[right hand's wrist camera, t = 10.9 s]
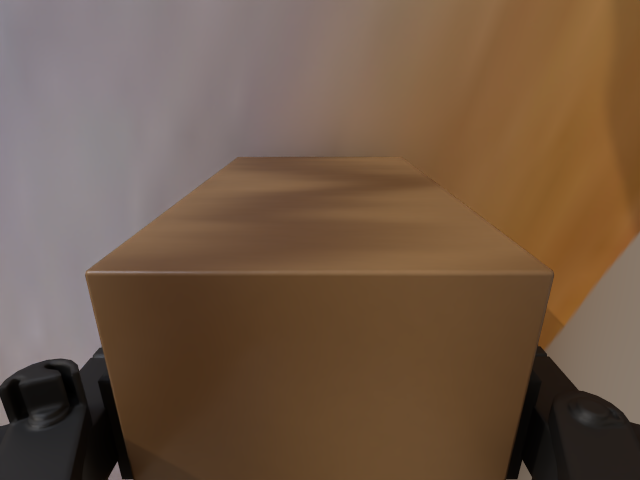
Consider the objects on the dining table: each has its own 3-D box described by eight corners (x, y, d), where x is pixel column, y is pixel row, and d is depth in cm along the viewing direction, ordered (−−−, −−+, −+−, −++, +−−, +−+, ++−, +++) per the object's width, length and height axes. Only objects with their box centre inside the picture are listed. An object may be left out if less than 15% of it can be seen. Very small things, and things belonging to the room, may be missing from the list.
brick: (402, 156, 17) (557, 271, 6) (391, 311, 20) (482, 587, 9) (237, 156, 17) (81, 270, 6) (248, 311, 20) (157, 587, 9)
